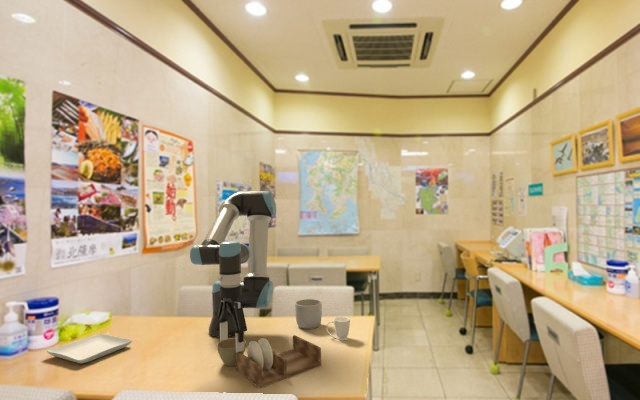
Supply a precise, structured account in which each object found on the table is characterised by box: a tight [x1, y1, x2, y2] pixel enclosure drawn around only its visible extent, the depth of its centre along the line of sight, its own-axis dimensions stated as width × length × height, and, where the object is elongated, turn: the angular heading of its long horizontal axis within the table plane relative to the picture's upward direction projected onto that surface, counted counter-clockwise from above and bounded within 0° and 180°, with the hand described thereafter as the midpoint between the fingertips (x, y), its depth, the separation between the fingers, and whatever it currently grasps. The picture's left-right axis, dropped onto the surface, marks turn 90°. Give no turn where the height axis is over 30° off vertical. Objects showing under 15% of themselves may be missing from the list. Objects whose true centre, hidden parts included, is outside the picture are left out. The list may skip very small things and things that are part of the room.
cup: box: [326, 316, 351, 342], centre depth 147 cm, size 7×10×8 cm
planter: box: [294, 298, 323, 330], centre depth 164 cm, size 12×12×11 cm
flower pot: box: [216, 337, 247, 367], centre depth 126 cm, size 10×10×7 cm
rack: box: [235, 335, 322, 388], centre depth 121 cm, size 16×24×6 cm, turn 128°
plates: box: [246, 337, 273, 370], centre depth 117 cm, size 10×4×10 cm, turn 38°
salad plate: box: [46, 333, 133, 364], centre depth 139 cm, size 21×21×3 cm
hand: (231, 345), depth 126 cm, fingers open, 13 cm apart
